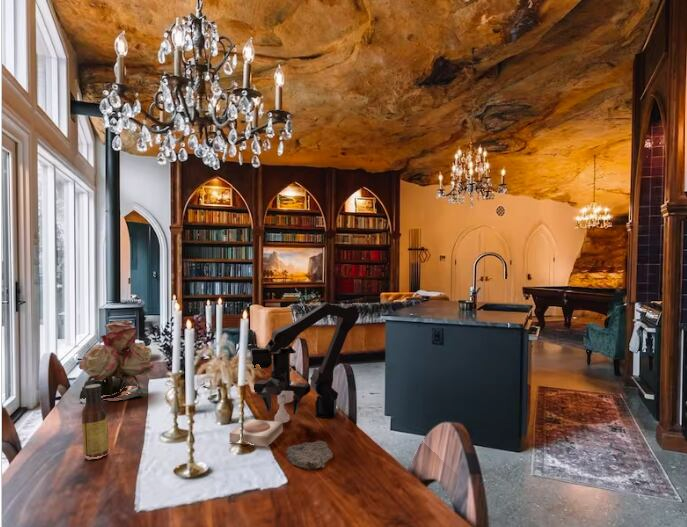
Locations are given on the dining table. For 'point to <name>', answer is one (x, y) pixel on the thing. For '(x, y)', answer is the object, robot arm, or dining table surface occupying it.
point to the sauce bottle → (94, 423)
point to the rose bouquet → (117, 361)
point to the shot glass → (288, 394)
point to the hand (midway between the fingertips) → (281, 413)
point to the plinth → (258, 432)
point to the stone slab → (309, 454)
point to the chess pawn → (282, 410)
